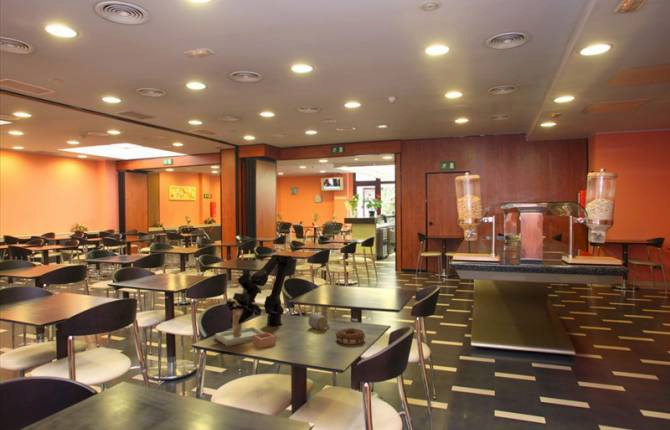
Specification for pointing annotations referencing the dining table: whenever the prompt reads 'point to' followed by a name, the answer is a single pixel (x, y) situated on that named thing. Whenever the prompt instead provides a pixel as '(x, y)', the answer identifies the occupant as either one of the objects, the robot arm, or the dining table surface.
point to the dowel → (236, 323)
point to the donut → (350, 336)
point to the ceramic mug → (318, 321)
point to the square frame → (264, 340)
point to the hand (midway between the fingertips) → (235, 323)
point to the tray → (245, 337)
